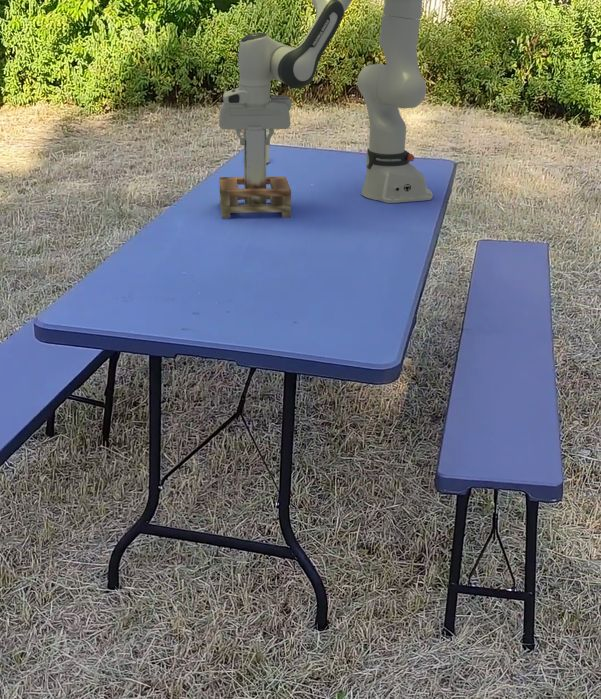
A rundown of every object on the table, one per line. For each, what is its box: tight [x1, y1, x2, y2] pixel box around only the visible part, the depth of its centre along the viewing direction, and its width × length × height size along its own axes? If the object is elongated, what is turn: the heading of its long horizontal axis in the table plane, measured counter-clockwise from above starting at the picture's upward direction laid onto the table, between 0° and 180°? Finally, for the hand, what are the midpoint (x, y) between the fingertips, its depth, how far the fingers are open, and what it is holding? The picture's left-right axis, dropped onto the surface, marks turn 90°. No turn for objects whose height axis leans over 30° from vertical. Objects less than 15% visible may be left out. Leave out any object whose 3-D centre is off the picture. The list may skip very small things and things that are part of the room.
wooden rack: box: [218, 176, 292, 219], centre depth 252 cm, size 20×15×8 cm
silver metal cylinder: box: [243, 126, 267, 205], centre depth 248 cm, size 6×6×25 cm
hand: (254, 144), depth 245 cm, fingers closed on silver metal cylinder, 6 cm apart
